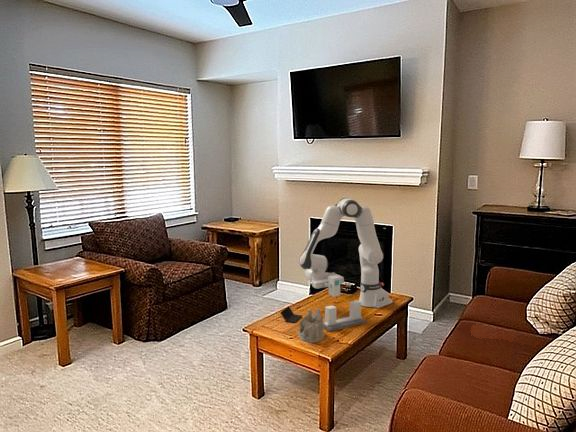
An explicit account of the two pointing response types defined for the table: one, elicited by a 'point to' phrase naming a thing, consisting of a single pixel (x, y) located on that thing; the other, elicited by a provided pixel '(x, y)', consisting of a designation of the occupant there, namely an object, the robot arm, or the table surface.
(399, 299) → the table surface
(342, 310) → the table surface
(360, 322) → the white u-shaped stand
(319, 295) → the table surface
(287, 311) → the handheld gaming console
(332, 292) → the block
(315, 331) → the stone castle model
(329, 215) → the robot arm
